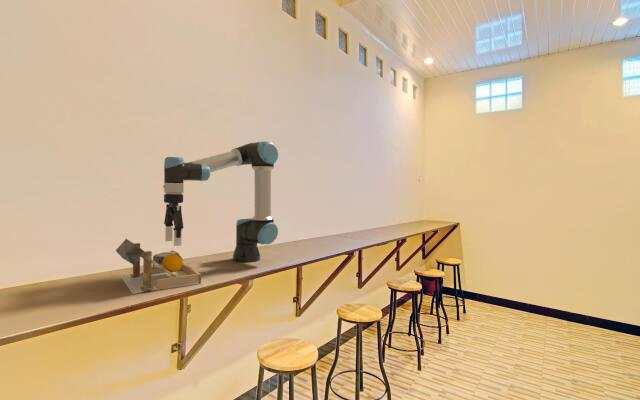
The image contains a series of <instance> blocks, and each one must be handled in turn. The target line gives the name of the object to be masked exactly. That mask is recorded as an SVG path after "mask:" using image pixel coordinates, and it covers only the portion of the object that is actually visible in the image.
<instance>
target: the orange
mask: <svg viewBox="0 0 640 400" xmlns="http://www.w3.org/2000/svg"><path fill="white" fill-rule="evenodd" d="M179 255H180V254H179ZM179 255H177V254H174V253H172V254H169V255H167V256H165V258H164V259H163V261H162V265H163V267H164V268H165V269H166V270H168V271H170V272H176V271H178V270H179V269H180V268H181V267H182V264H183V263H184V261H183V260H182V259H183V257H182V256H181V255H180V256H181V257H182V258H181V257H180V256H179Z"/></svg>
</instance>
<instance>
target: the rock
mask: <svg viewBox="0 0 640 400" xmlns="http://www.w3.org/2000/svg"><path fill="white" fill-rule="evenodd" d="M172 253H174V254H177V255H179V256H180V257H181V258H182V261H183V257H182V256H181V255H180V253H179V252H177V251H175V250H170V251H168V252H167V251H166V252H165V251H162V252H160V253H156V254H154V255H152V260H154V261H155V262H157V263H158V264H160V265H161V266H163V265H162V261H163V259H164V258H165V256H167V255H169V254H172ZM154 266H155V265H153V264H152V267H154Z"/></svg>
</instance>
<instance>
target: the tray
mask: <svg viewBox="0 0 640 400" xmlns="http://www.w3.org/2000/svg"><path fill="white" fill-rule="evenodd" d="M172 273H173V274H174V275H176V276H177V277H172V276H171V275H169V274H167V273H166V272H164V271H163V270H161V269H160V268H158V267H156V266H154V267H153V266H152V267H151V285H152V286H153V287H154V290H156V291H160V289H162V290H169V289H174V288H175V289H176V288H181V287H187V286H194V285H200V284H202V273H200V272H199V271H197V270H195V269H194V268H192V267H191V266H189V265H187V264H186V263H184V262H183V264H182V267H181V268H180V269H179V270H178V271H176V272H172ZM122 280H123V282H124V284H125V285H126V287H127V288H128V289H129V291H130V292H131V293H132V294H133V295H134V294H135V295H136V294H141V293H142V292H143V293H147V292H146V291H145V292H144V291H142V290H141V289H140V287H143V274H142V277H136V278H131V276H125V277H122ZM154 290H151V291H150V292H155V291H154ZM143 293H142V294H143Z"/></svg>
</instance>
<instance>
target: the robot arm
mask: <svg viewBox="0 0 640 400" xmlns="http://www.w3.org/2000/svg"><path fill="white" fill-rule="evenodd" d="M278 159H279V150H278V149H277V146H275V144H274V143H273V142H271V141H257V142H249V143H247V144H244V145H241V146H238V147H235V148H232V149H231V150H230V151H227V152H224V153H220V154H215V155H212V156H209V157H204V158H201V159H196V160H193V161H189V162H185V160H184V158H183V157H179V156H166V157H165V158H164V164H163V165H164V166H163V169H164V170H163V171H164V172H163V174H164V179H163V183H164V184H163V185H162V188H163V192H164V193H165V194H163V202H164V203H165V204H166V208H165V214H164V215H165V216H164V222H163V224H164V226H165V239H164V240H165V242H173V246H174V247H178V246H182V235H183V234H182V230H183V229H184V221H183V213H182V205H179V204H183V202H184V194H183V193H184V181H197V182H198V181H199V182H203V181H204V182H205V181H208V180H209V179H210V178H211V177H210V176H211V173H213V172H217V171H220V170H223V169H227V168H229V167H234V166H237V167H240V166H243V165H245V166H246V165H251V169H253V170H254V216H253V217H251V218H239V219H237V220H236V226H235V228H236V230H235V232H236V233H235V234H236V236H235V237H236V239H235V248H234V251H233V254H232V261H234V262H237V263H239V262H241V263H246V262H247V263H249V262H250V263H252V262H256V261H257V262H258V261H260V260H261V254H260V251H259V247H258V244H260V245H271V244H272V243H274V242H275V240H277V238H278V235H279V228H278V226H277V225H276V224H275V220H274V217H273V216H272V209H271V208H272V170H273V169H274V167H275V163H276V162H277V161H278ZM173 226H174V227H173Z"/></svg>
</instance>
